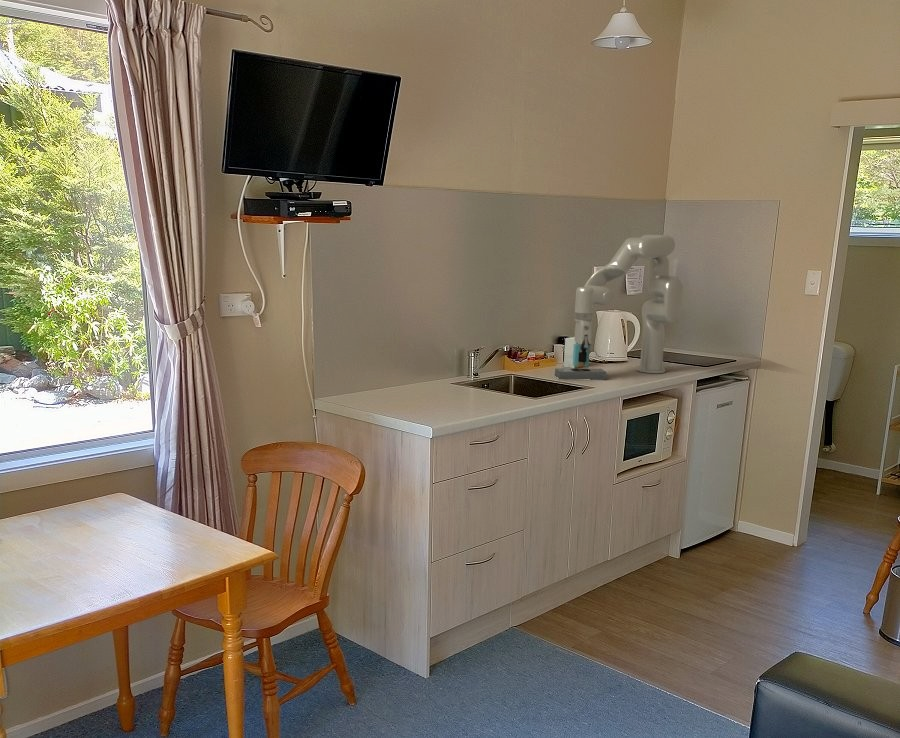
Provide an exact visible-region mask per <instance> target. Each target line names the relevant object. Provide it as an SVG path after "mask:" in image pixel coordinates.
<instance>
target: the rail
mask: <svg viewBox="0 0 900 738" xmlns="http://www.w3.org/2000/svg"><path fill="white" fill-rule="evenodd" d="M555 376H556V377H558V378H559V379H590V380H589V381H607V371H606V370H604V369H602V368H569V367H566V368H558V367H556V368H554V377H555ZM556 377H555V378H556Z"/></svg>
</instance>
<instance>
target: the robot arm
mask: <svg viewBox="0 0 900 738" xmlns="http://www.w3.org/2000/svg"><path fill="white" fill-rule="evenodd" d="M675 248H676V241H675V240H674V238H673V237H672V236H670V235H667V234H666V235H665V234H652V233H651V234H644V235H642V236H641V237H635V236H634V237H628V238H626V239H625V240H624V241H623V243H622V244H621V246H620V247H619V249H618V250H617V251H616V252H615V254H614V255H613V257H612V259H611V260H610V262H609V263H607V264H605V265H604V266H602V267H601V268H600V269H598V270H597V271H596V272H594V273H592V274H591V276H590V278H589V279H588V280H587V281H586V283H585V284H584V286H579V287H576V291H575V300H574V301H575V303H574V315H573V316H574V318H573V321H575V327H574V337H575V338H574V339H575V342H576V343H577V344H579V345H580V352H579V358H578V361H579V362H586V356H587V348H588V345H590V346H591V345H592V342H593V339H592V338H593V337H592V336H593V324H592V323H593V320H594V307H595V306H594V305H601V306H605V305H609V304H610V303H611V302H612V301H613V299H614V293H613V291H612V290H611V289H610V288H609V287H606V286H604V285H606V284H607V283H609V282H611V281H614V280H617V279H621V278H623V277H625V276H626V275H627V274H628V273H629V271H630V269H631V268H632V267H633V265H634V264H635V262H637V260H638V259H643V260H644V259H647V261H648V277H647V293H648V294H649V295H650V296H652V297H655V298H656V297H657V298H663V300H660V299H649V300H647V301H645V302H644V303H643V305H642V306H641V317H642V318H641V319H642V335H641V351H640V363H639V365H637V367H636V371H637V372H639V373H645V374H664V373H666V368H673V367H674V363H673V362H666V361H664V359H663V358H664V348H665V347H664V346H665V337H666V336H665V334H666V332H665V331H666V330H665V326H664V324H667V325H672V324H673V325H674V324H676V323H677V322H678V321H679V318H680V317H681V312H682V302H683V292H684V291H683V289H684V288H683V287H684V286H683V283H682V280H681V279H680V278H679V277H677V276H674V275H670V261H669V256H670V255H671V254H673V252H674V251H675ZM582 344H584V345H582ZM582 346H584V347H582Z"/></svg>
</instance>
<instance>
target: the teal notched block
mask: <svg viewBox="0 0 900 738" xmlns="http://www.w3.org/2000/svg"><path fill="white" fill-rule="evenodd" d="M582 345H584V344H582ZM582 347H584V346H582ZM590 348H591V345H588V348H587V356H586V362H583V366H585V367H589V366H590V365H589V363H590V350H591V349H590ZM579 352H580V345H579V344H574V349H573V366H578V362H579V361H578V358H579Z"/></svg>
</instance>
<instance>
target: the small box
mask: <svg viewBox="0 0 900 738" xmlns="http://www.w3.org/2000/svg"><path fill="white" fill-rule="evenodd" d="M574 338H575V336H573V337H572V336H571V337H566V338H564V354H563V367H566V368H574V369H580V368H584V367H586V366H583V362H578V366H573V349H574V344H577V343H576V342H575V339H574Z"/></svg>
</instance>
